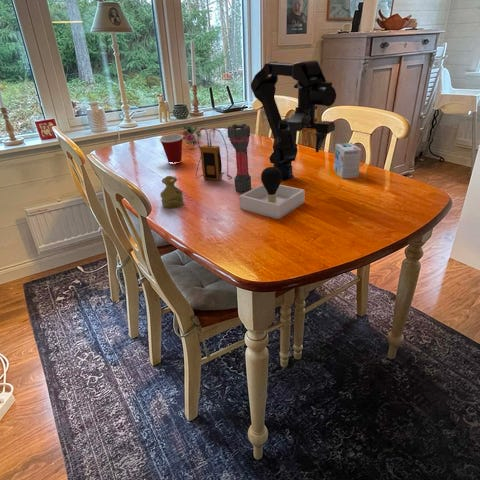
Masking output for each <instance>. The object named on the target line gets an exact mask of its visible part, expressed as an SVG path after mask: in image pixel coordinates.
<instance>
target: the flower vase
mask: <svg viewBox="0 0 480 480" xmlns="http://www.w3.org/2000/svg"><path fill="white" fill-rule="evenodd" d="M197 128H198V127H197V125H195V127H193V126H191V125H187V126H186V125H185V124H184V125H183V129H182V130H183V131H182V135H183V139H182V140H185V141H186V143H185V145H186V144H189V145H190V144H191V143H194V141H195V142H197V138H200V137H202V135H201V134H200V133H199V131H200V130H198V129H197ZM197 130H198V131H197ZM198 133H199V136H198ZM195 135H196V136H195Z"/></svg>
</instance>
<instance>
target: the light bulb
mask: <svg viewBox="0 0 480 480" xmlns="http://www.w3.org/2000/svg"><path fill="white" fill-rule="evenodd" d="M260 180H261V183H262V184H263V185H264V187H265V189H266V190H267V192H268V202H271V203H275V202H276V191H277V189H278V187H279V186H280V185H282V184H281V183H282V181H283V180H282V173H281V171H280V170H279V169H278V168H276V167H274V166H268V167H266V168H264V169H263V170H262V171H261V174H260Z"/></svg>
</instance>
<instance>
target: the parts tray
mask: <svg viewBox="0 0 480 480" xmlns="http://www.w3.org/2000/svg"><path fill="white" fill-rule="evenodd" d="M305 193H306V191H305V189H302V188H297V187H292V186H287V185H283V184H280V186H279V187H278V189H277V191H276V202H275V203H271V202H268V192H267V190H266V189H265V187H264V185H263V183H262V184H260V185H258V186H256V187H254V188H252V189H249V190H248V191H245V192H244V193H242V194H241V195H239V208H240V210H244V211H247V212H249V213H250V212H251V213H255V214H258V215H262V216H265V217H269V218H272V219H276V220H281V219H282V218H283V217H285V216H287V215H288V214H289V213H291V212H293V211H294V210H295V209H297V208H298V207H300V206H302V205H303V204H305V197H306V196H305V195H306V194H305Z"/></svg>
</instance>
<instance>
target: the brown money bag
mask: <svg viewBox="0 0 480 480" xmlns="http://www.w3.org/2000/svg"><path fill="white" fill-rule="evenodd" d="M177 181H178V178H177V177H175V176H171V175H167V176H165V177H164V178H162V179H161V182H162V184H164V185H165V187H164V189H163V190H162V191H161V192H160V194H159V195H160V198H161V200H160V201H161V206H162V207H163V208H165V209H177V208H180V207H182V206H183V205H184V197H183V190H181V189H180V188H178V187H176V186H175V183H176V182H177Z"/></svg>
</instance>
